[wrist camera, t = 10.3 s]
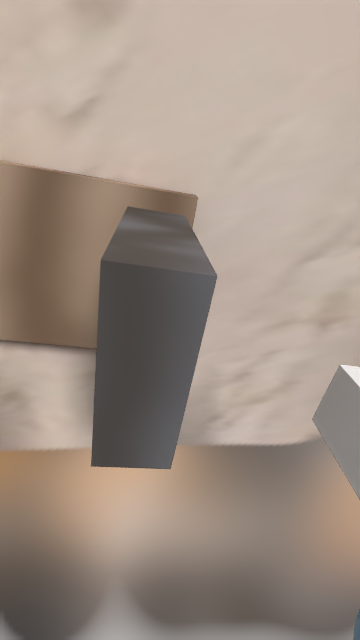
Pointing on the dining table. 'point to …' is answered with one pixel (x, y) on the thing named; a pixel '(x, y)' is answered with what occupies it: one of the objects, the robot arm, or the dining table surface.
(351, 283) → the dining table surface
